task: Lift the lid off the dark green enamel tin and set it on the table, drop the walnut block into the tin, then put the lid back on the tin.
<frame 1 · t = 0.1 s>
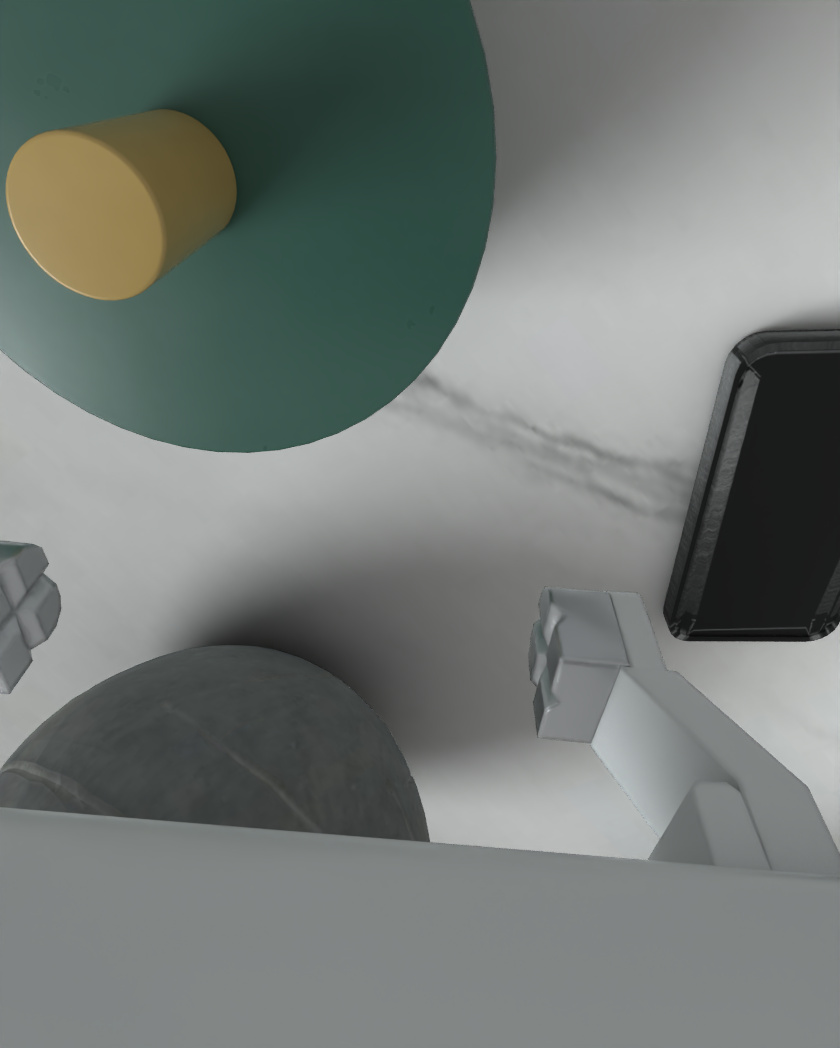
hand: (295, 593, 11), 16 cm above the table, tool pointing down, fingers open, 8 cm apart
tin lid: (188, 174, 13), point 8 cm above the table, touching tin
phone: (782, 498, 27), on the table
bowl: (260, 699, 38), on the table
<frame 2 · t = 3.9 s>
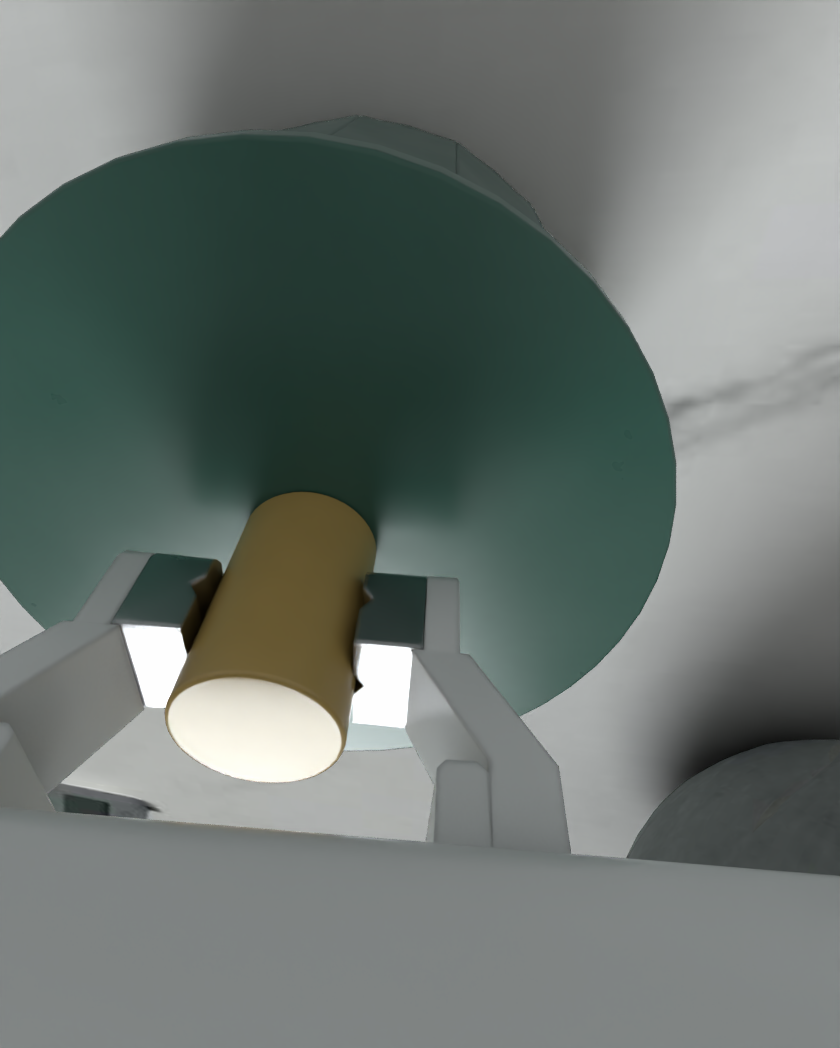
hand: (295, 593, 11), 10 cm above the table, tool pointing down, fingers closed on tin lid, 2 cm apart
tin lid: (316, 525, 12), point 9 cm above the table, touching gripper, tin
bowl: (776, 787, 31), on the table
tin: (367, 353, 19), on the table
when the fingers open (2 cm above the table, at t = 11.0 s): tin lid stays where it is, point 1 cm above the table.
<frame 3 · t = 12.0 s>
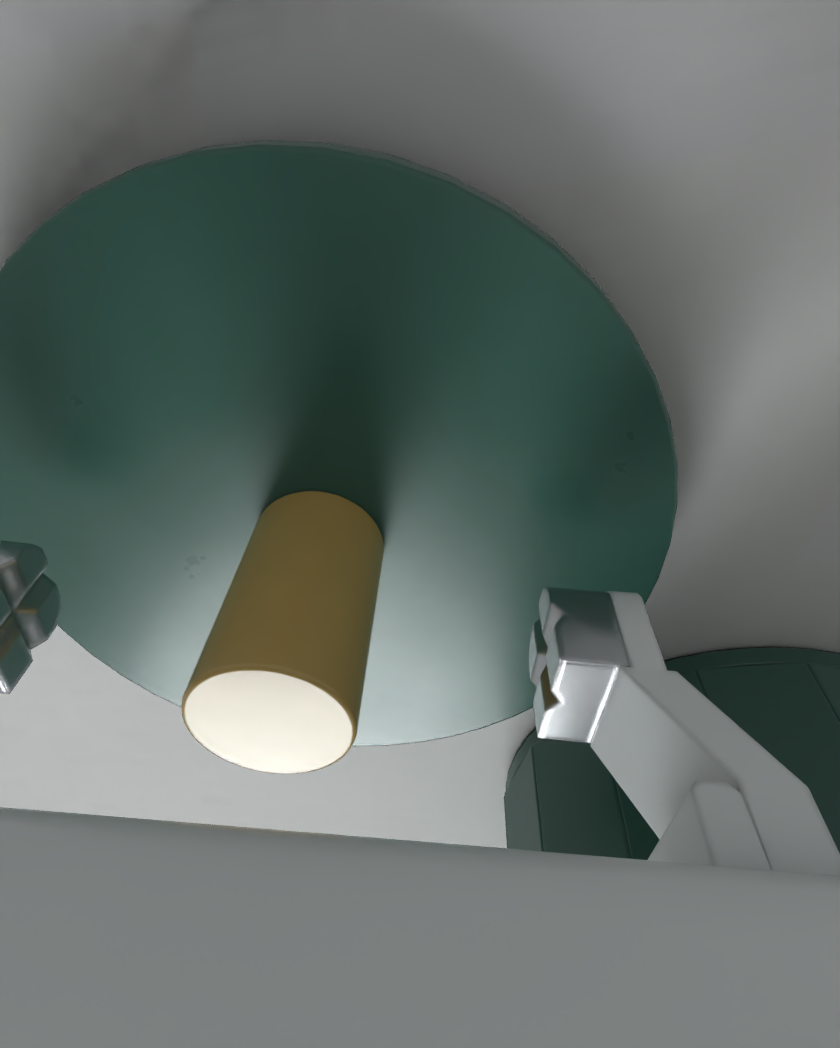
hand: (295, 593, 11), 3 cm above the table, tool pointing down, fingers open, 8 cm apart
tin lid: (325, 523, 12), point 1 cm above the table
tin: (715, 789, 18), on the table
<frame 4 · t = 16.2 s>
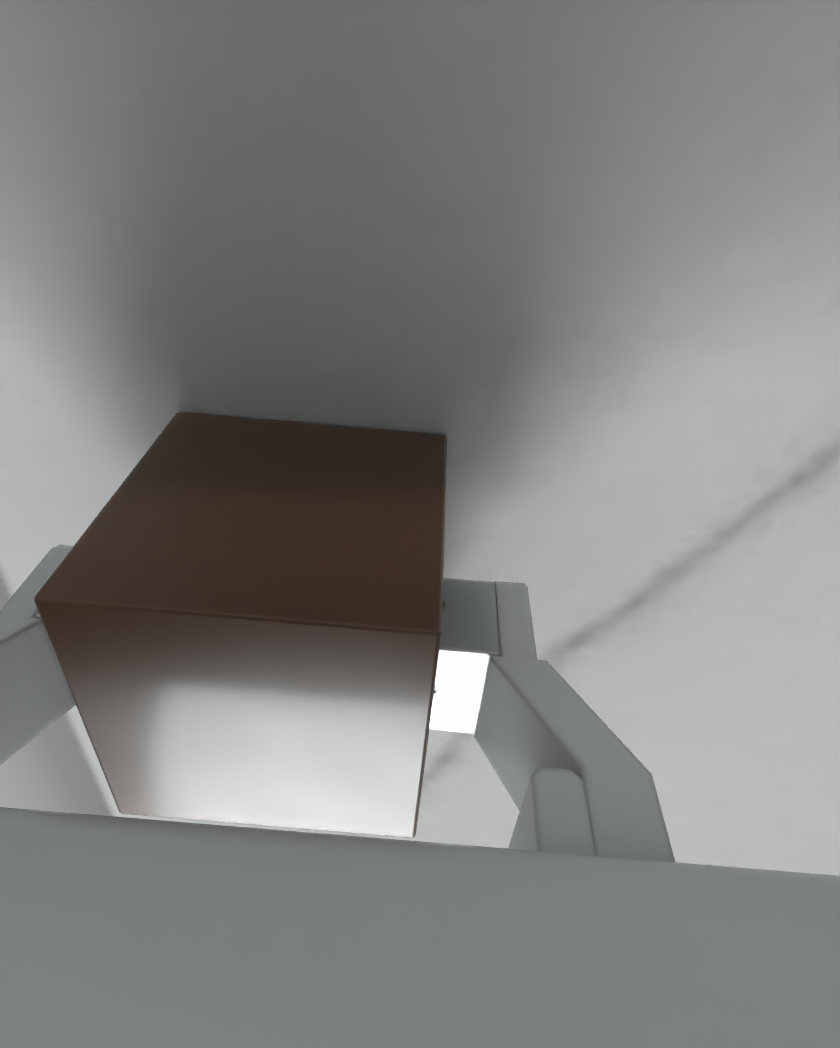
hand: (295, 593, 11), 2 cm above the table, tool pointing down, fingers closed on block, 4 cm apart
block: (315, 529, 12), on the table, touching gripper
when the fingers open (9 cm above the table, at t = 23.7 s): block drops 7 cm, resting on tin.
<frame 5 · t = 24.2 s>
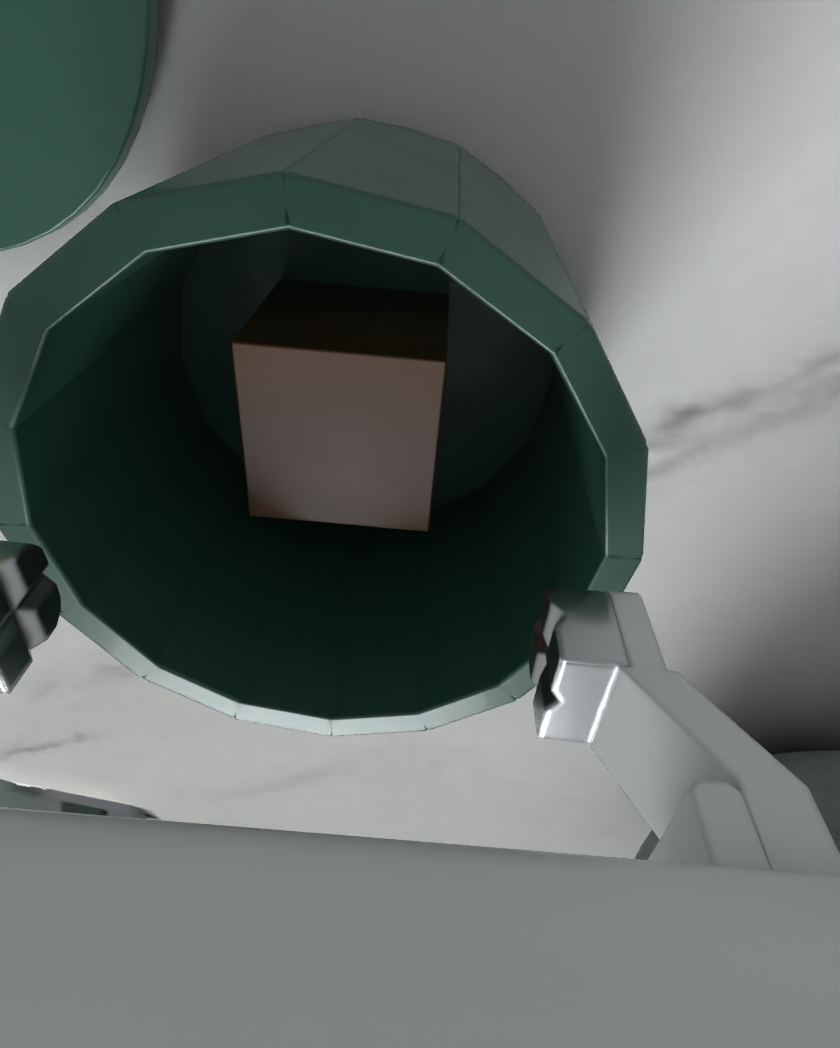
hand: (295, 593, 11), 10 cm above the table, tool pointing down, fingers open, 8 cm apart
block: (362, 367, 18), point 1 cm above the table, touching tin
bowl: (781, 797, 31), on the table
tin: (367, 360, 19), on the table
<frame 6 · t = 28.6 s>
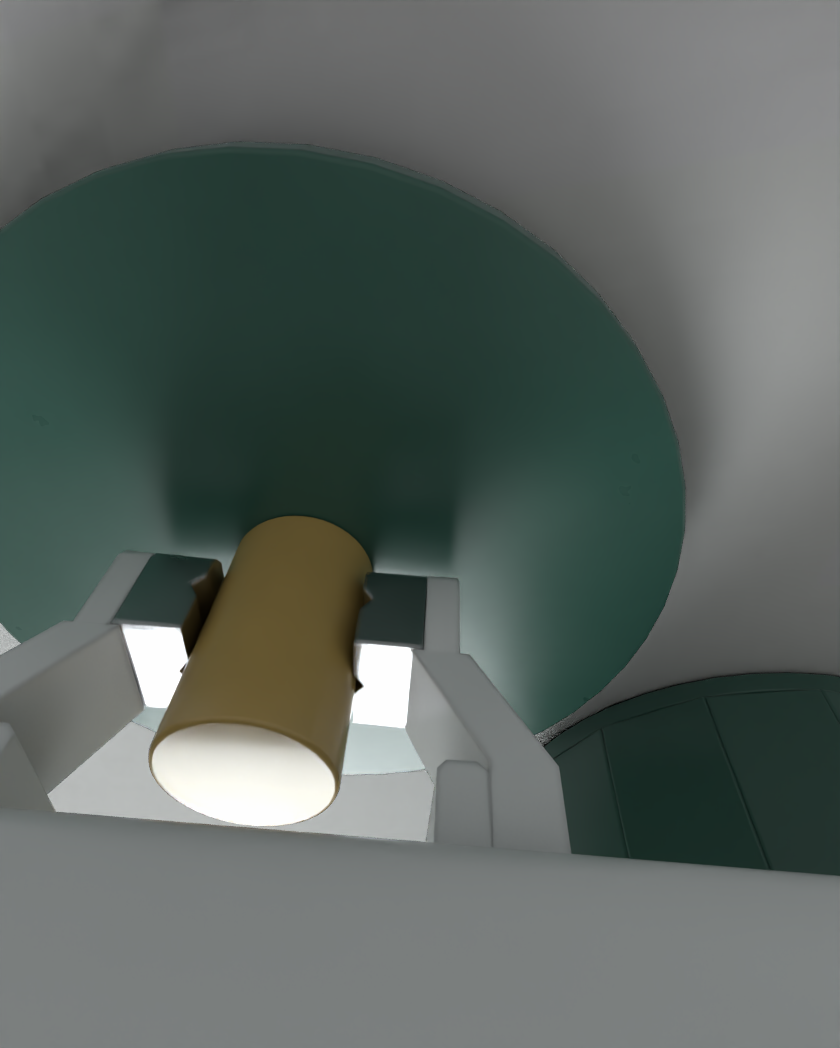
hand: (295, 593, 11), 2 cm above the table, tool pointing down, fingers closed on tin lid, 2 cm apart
tin lid: (311, 547, 12), point 1 cm above the table, touching gripper
tin: (722, 815, 17), on the table
when the fingers open (10 cm above the table, at t = 35.9 s): tin lid stays where it is, resting on tin.
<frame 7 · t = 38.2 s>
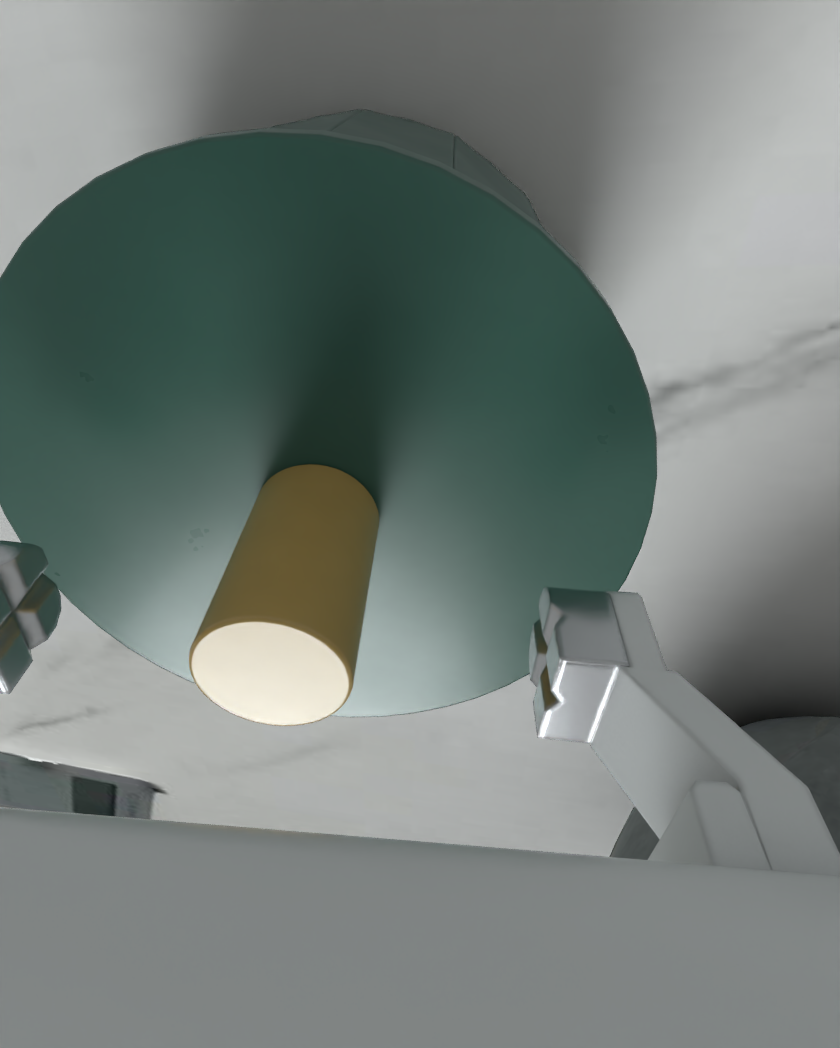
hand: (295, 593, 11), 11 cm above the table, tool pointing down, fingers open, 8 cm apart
tin lid: (323, 497, 13), point 8 cm above the table, touching tin
bowl: (767, 766, 32), on the table
tin: (369, 339, 20), on the table
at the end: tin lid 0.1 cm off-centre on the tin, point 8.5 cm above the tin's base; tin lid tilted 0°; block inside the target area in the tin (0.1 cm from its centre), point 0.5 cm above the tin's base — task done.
